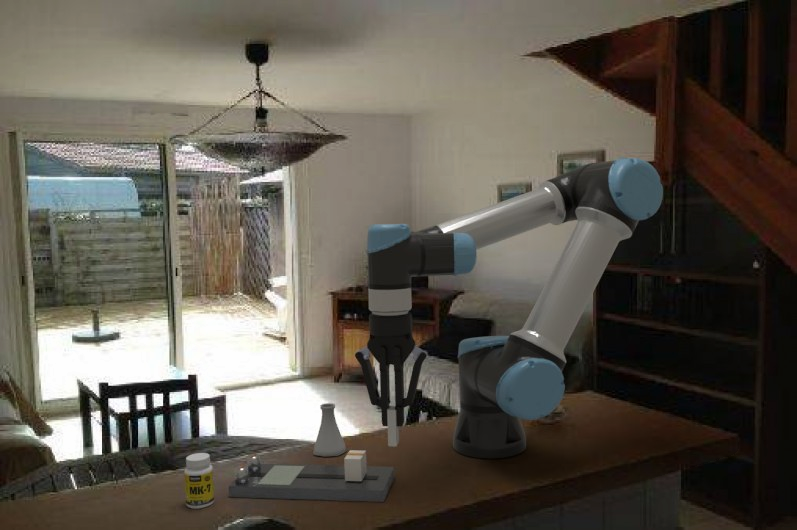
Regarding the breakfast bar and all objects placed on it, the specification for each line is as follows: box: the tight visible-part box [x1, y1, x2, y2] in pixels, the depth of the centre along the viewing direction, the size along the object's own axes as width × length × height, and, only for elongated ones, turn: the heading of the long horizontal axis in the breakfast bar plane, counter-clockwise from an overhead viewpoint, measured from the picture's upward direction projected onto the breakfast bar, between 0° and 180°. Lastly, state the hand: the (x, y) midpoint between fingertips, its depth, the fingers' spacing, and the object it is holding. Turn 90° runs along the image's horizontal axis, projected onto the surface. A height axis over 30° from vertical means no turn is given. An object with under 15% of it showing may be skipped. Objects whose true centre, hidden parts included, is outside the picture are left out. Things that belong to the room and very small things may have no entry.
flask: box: [312, 402, 347, 458], centre depth 143 cm, size 7×7×10 cm
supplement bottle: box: [184, 452, 215, 510], centre depth 119 cm, size 5×5×8 cm
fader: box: [343, 449, 367, 481], centre depth 123 cm, size 3×4×4 cm
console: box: [228, 453, 395, 503], centre depth 125 cm, size 28×11×5 cm, turn 81°
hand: (393, 443), depth 122 cm, fingers closed
